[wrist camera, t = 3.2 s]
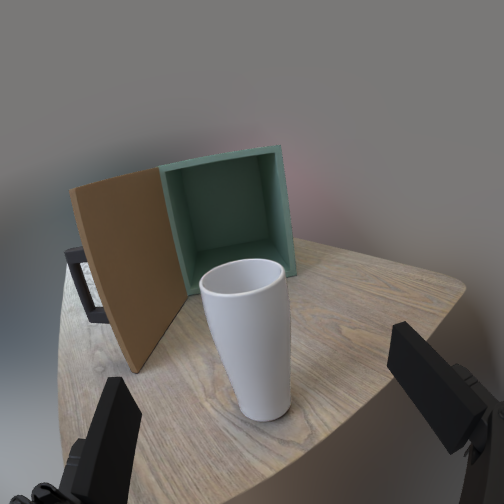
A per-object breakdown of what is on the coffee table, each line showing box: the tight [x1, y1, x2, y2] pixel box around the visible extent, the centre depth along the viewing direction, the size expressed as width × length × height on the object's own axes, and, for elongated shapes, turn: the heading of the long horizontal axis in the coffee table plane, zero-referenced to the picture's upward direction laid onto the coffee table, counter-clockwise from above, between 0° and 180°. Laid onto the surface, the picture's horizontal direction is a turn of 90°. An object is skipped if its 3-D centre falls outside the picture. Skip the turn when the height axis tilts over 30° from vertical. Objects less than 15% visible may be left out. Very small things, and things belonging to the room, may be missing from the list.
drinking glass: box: [199, 259, 291, 422], centre depth 25 cm, size 7×7×15 cm
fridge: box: [158, 145, 297, 295], centre depth 63 cm, size 24×21×24 cm
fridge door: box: [64, 167, 188, 373], centre depth 40 cm, size 6×21×24 cm, turn 172°
